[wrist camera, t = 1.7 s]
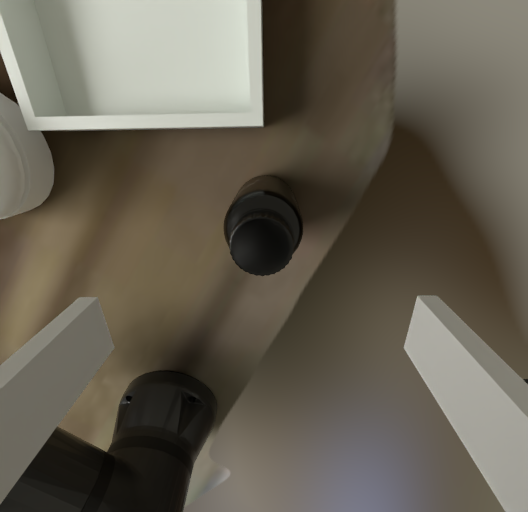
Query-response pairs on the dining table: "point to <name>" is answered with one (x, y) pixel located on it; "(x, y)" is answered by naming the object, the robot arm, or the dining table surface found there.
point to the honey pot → (22, 163)
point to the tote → (135, 63)
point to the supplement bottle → (263, 226)
